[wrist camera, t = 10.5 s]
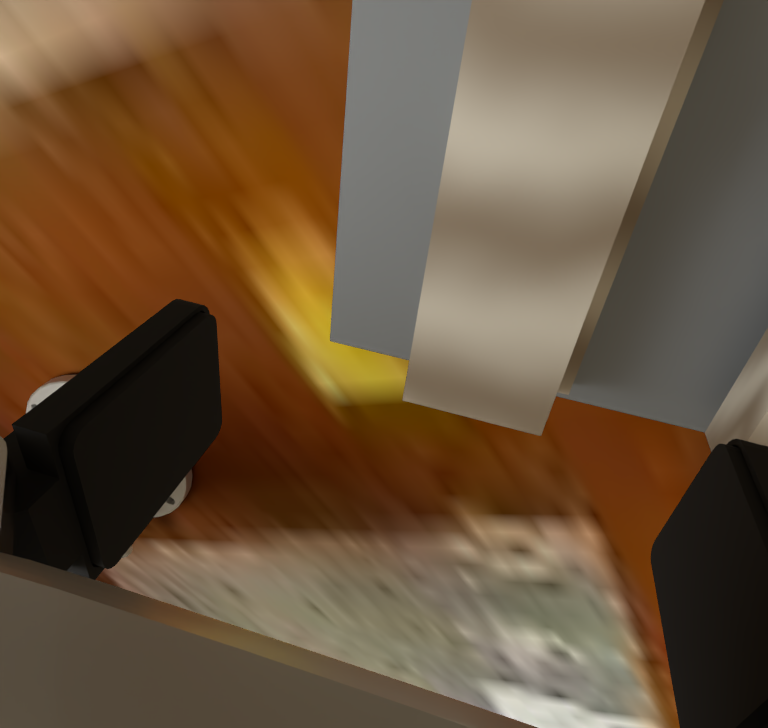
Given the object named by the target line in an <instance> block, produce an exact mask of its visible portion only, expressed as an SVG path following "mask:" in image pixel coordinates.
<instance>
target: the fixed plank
mask: <svg viewBox="0 0 768 728" xmlns="http://www.w3.org/2000/svg"><path fill="white" fill-rule="evenodd" d="M705 435H706V438H707V441H708V444H709V447H710V450H711V452H712V451H713V449H714V448H715V447H716V446H717V445H718V444H727V443H728V442H729V441H731V440H732V439H740V440H744V441H748V442H752V443H756V444H760V445H764V446H768V328H767V330H766V331H765V333H764V335H763V336H762V338H761V340H760V341H759V343H758V345H757V346H756V348H755V350H754V351H753V353H752V355H751V356H750V358H749V360H748V361H747V363H746V365H745V366H744V368H743V370H742V371H741V373H740V375H739V376H738V378H737V380H736V381H735V383H734V385H733V386H732V388H731V390H730V391H729V393H728V395H727V396H726V398H725V400H724V401H723V403H722V405H721V406H720V408H719V410H718V411H717V413H716V415H715V416H714V418H713V420H712V422H711V423H710V425H709V427H708V428H707V430H706V432H705Z"/></svg>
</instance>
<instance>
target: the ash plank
mask: <svg viewBox="0 0 768 728" xmlns="http://www.w3.org/2000/svg"><path fill="white" fill-rule="evenodd" d="M723 1H724V0H472V3H471V9H470V14H469V20H468V26H467V32H466V37H465V43H464V49H463V55H462V60H461V66H460V72H459V78H458V83H457V89H456V95H455V101H454V106H453V112H452V118H451V124H450V129H449V135H448V141H447V147H446V152H445V158H444V164H443V170H442V176H441V181H440V187H439V193H438V199H437V204H436V210H435V216H434V222H433V227H432V233H431V239H430V245H429V250H428V256H427V262H426V268H425V273H424V279H423V285H422V291H421V296H420V302H419V308H418V314H417V319H416V325H415V331H414V337H413V342H412V348H411V354H410V360H409V365H408V371H407V377H406V383H405V388H404V394H403V401H407V402H411V403H415V404H419V405H423V406H426V407H430V408H434V409H438V410H442V411H446V412H450V413H453V414H457V415H461V416H465V417H469V418H473V419H477V420H480V421H484V422H488V423H492V424H496V425H500V426H504V427H508V428H511V429H515V430H519V431H523V432H527V433H531V434H535V435H538V436H541V434H542V432H543V429H544V426H545V424H546V421H547V418H548V416H549V413H550V410H551V408H552V405H553V402H554V400H555V397H556V395H557V392H558V393H562V394H566V395H569V393H570V390H571V388H572V385H573V382H574V380H575V377H576V375H577V372H578V370H579V367H580V365H581V362H582V360H583V357H584V354H585V352H586V349H587V347H588V344H589V342H590V339H591V337H592V334H593V332H594V329H595V326H596V324H597V321H598V319H599V316H600V314H601V311H602V309H603V306H604V304H605V301H606V299H607V296H608V293H609V291H610V288H611V286H612V283H613V281H614V278H615V276H616V273H617V271H618V268H619V265H620V263H621V260H622V258H623V255H624V253H625V250H626V248H627V245H628V243H629V240H630V238H631V235H632V232H633V230H634V227H635V225H636V222H637V220H638V217H639V215H640V212H641V210H642V207H643V204H644V202H645V199H646V197H647V194H648V192H649V189H650V187H651V184H652V182H653V179H654V177H655V174H656V171H657V169H658V166H659V164H660V161H661V159H662V156H663V154H664V151H665V149H666V146H667V143H668V141H669V138H670V136H671V133H672V131H673V128H674V126H675V123H676V121H677V118H678V116H679V113H680V110H681V108H682V105H683V103H684V100H685V98H686V95H687V93H688V90H689V88H690V85H691V82H692V80H693V77H694V75H695V72H696V70H697V67H698V65H699V62H700V60H701V57H702V54H703V52H704V49H705V47H706V44H707V42H708V39H709V37H710V34H711V32H712V29H713V27H714V24H715V21H716V19H717V16H718V14H719V11H720V9H721V6H722V4H723Z"/></svg>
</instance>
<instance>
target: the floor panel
mask: <svg viewBox="0 0 768 728" xmlns="http://www.w3.org/2000/svg"><path fill="white" fill-rule="evenodd" d="M471 3H472V0H353V4H352V19H351V34H350V49H349V64H348V79H347V94H346V109H345V124H344V138H343V153H342V168H341V183H340V198H339V213H338V228H337V243H336V258H335V273H334V288H333V303H332V318H331V333H330V341H332V342H336V343H340V344H344V345H348V346H353V347H357V348H361V349H365V350H369V351H373V352H377V353H381V354H385V355H389V356H394V357H398V358H402V359H406V360H410V354H411V348H412V342H413V337H414V331H415V325H416V319H417V314H418V308H419V302H420V296H421V291H422V285H423V279H424V273H425V268H426V262H427V256H428V250H429V245H430V239H431V233H432V227H433V222H434V216H435V210H436V204H437V199H438V193H439V187H440V181H441V176H442V170H443V164H444V158H445V152H446V147H447V141H448V135H449V129H450V124H451V118H452V112H453V106H454V101H455V95H456V89H457V83H458V78H459V72H460V66H461V60H462V55H463V49H464V43H465V37H466V32H467V26H468V20H469V14H470V9H471ZM767 328H768V0H724V1H723V4H722V6H721V9H720V11H719V14H718V16H717V19H716V21H715V24H714V27H713V29H712V32H711V34H710V37H709V39H708V42H707V44H706V47H705V49H704V52H703V54H702V57H701V60H700V62H699V65H698V67H697V70H696V72H695V75H694V77H693V80H692V82H691V85H690V88H689V90H688V93H687V95H686V98H685V100H684V103H683V105H682V108H681V110H680V113H679V116H678V118H677V121H676V123H675V126H674V128H673V131H672V133H671V136H670V138H669V141H668V143H667V146H666V149H665V151H664V154H663V156H662V159H661V161H660V164H659V166H658V169H657V171H656V174H655V177H654V179H653V182H652V184H651V187H650V189H649V192H648V194H647V197H646V199H645V202H644V204H643V207H642V210H641V212H640V215H639V217H638V220H637V222H636V225H635V227H634V230H633V232H632V235H631V238H630V240H629V243H628V245H627V248H626V250H625V253H624V255H623V258H622V260H621V263H620V265H619V268H618V271H617V273H616V276H615V278H614V281H613V283H612V286H611V288H610V291H609V293H608V296H607V299H606V301H605V304H604V306H603V309H602V311H601V314H600V316H599V319H598V321H597V324H596V326H595V329H594V332H593V334H592V337H591V339H590V342H589V344H588V347H587V349H586V352H585V354H584V357H583V360H582V362H581V365H580V367H579V370H578V372H577V375H576V377H575V380H574V382H573V385H572V388H571V390H570V393H569V395H566V394H562V393H558V392H557V395H556V396H558V397H562V398H566V399H570V400H574V401H578V402H582V403H586V404H590V405H594V406H599V407H603V408H607V409H611V410H615V411H619V412H623V413H627V414H631V415H635V416H640V417H644V418H648V419H652V420H656V421H660V422H664V423H668V424H672V425H676V426H680V427H685V428H689V429H693V430H697V431H701V432H706V430H707V428H708V427H709V425H710V423H711V422H712V420H713V418H714V416H715V415H716V413H717V411H718V410H719V408H720V406H721V405H722V403H723V401H724V400H725V398H726V396H727V395H728V393H729V391H730V390H731V388H732V386H733V385H734V383H735V381H736V380H737V378H738V376H739V375H740V373H741V371H742V370H743V368H744V366H745V365H746V363H747V361H748V360H749V358H750V356H751V355H752V353H753V351H754V350H755V348H756V346H757V345H758V343H759V341H760V340H761V338H762V336H763V335H764V333H765V331H766V330H767Z"/></svg>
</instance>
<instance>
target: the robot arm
mask: <svg viewBox="0 0 768 728" xmlns="http://www.w3.org/2000/svg"><path fill="white" fill-rule="evenodd" d="M221 424H222V411H221V394H220V376H219V359H218V341H217V323H216V319H215V317H214V316H213V315H210V314H209V310H208V308H207V307H206V306H204V305H200V304H196V303H192V302H188V301H184V300H180V299H176V300H174V301H172V302H170V303H169V304H168V305H167V306H165V307H164V308H163V309H161V310H160V311H159V312H157V313H156V314H155V315H154V316H152V317H151V318H150V319H148V320H147V321H146V322H144V323H143V324H142V325H141V326H139V327H138V328H137V329H135V330H134V331H133V332H131V333H130V334H129V335H128V336H126V337H125V338H124V339H122V340H121V341H120V342H118V343H117V344H116V345H115V346H113V347H112V348H111V349H109V350H108V351H107V352H105V353H104V354H103V355H102V356H100V357H99V358H98V359H96V360H95V361H94V362H92V363H91V364H90V365H89V366H87V367H86V368H85V369H83V370H82V371H81V372H79V373H78V374H77V375H63V376H60V377H56V378H53V379H51V380H50V381H48V382H47V383H45V384H44V385H42V386H41V387H39V388H38V389H37V390H36V391H35V392H34V393H33V394H32V395H31V397H30V399H29V401H28V403H27V410H26V414H25V415H23V416H22V417H21V418H20V419H18V420H17V421H16V422H14V423H13V424H12V426H13V429H14V431H13V432H12V433H10V434H9V435H8V436H7V437H5V438H4V439H2V438H1V437H0V728H537V727H534V726H531V725H529V724H526V723H523V722H520V721H517V720H514V719H511V718H508V717H505V716H502V715H499V714H496V713H493V712H490V711H488V710H485V709H482V708H479V707H476V706H473V705H470V704H467V703H464V702H461V701H458V700H455V699H452V698H449V697H446V696H443V695H440V694H437V693H434V692H431V691H428V690H425V689H422V688H420V687H417V686H414V685H411V684H408V683H405V682H402V681H399V680H396V679H393V678H390V677H387V676H384V675H381V674H378V673H375V672H372V671H369V670H366V669H363V668H360V667H357V666H354V665H351V664H348V663H345V662H342V661H339V660H336V659H333V658H330V657H327V656H324V655H321V654H318V653H315V652H312V651H309V650H306V649H303V648H300V647H297V646H294V645H291V644H288V643H285V642H282V641H279V640H276V639H273V638H271V637H268V636H264V635H261V634H258V633H255V632H252V631H249V630H246V629H243V628H240V627H237V626H234V625H231V624H228V623H225V622H222V621H219V620H216V619H213V618H210V617H207V616H204V615H201V614H198V613H195V612H192V611H189V610H186V609H183V608H180V607H177V606H174V605H171V604H168V603H164V602H161V601H158V600H155V599H152V598H149V597H146V596H143V595H140V594H137V593H134V592H131V591H128V590H125V589H122V588H119V587H116V586H112V585H109V584H106V583H103V582H100V581H96V580H95V579H96V578H97V577H98V576H99V574H100V573H101V572H102V571H103V569H104V568H106V569H110V568H112V567H113V566H115V565H116V564H117V563H118V562H119V560H120V559H121V558H124V557H127V556H128V555H129V554H131V552H132V550H133V548H132V544H133V543H134V541H135V540H136V539H137V538H138V536H139V535H140V534H141V532H142V531H143V530H144V529H145V527H146V526H147V525H148V524H149V522H150V521H151V520H152V518H153V517H161V516H163V515H166V514H169V513H171V512H172V511H174V510H175V509H176V508H178V507H179V505H180V504H181V503H182V501H183V500H184V499H185V498H186V496H187V495H188V492H189V490H190V488H191V484H192V477H193V476H192V468H193V466H194V465H195V464H196V462H197V461H198V460H199V459H200V457H201V456H202V455H203V454H204V452H205V451H206V450H207V448H208V447H209V446H210V445H211V443H212V442H213V441H214V440H215V438H216V437H217V435H218V433H219V431H220V428H221ZM651 564H652V570H653V576H654V582H655V587H656V593H657V599H658V604H659V610H660V616H661V622H662V627H663V633H664V639H665V644H666V650H667V656H668V661H669V667H670V673H671V679H672V684H673V690H674V696H675V701H676V707H677V713H678V718H679V724H680V728H768V446H764V445H760V444H756V443H752V442H748V441H744V440H740V439H732V440H731V441H729V442H728V443H727V444H718V445H717V446H716V447H715V448H714V449H713V451H712V452H711V454H710V455H709V457H708V458H707V460H706V461H705V463H704V465H703V466H702V468H701V469H700V471H699V472H698V474H697V476H696V477H695V479H694V480H693V482H692V483H691V485H690V486H689V488H688V490H687V491H686V493H685V494H684V496H683V497H682V499H681V501H680V502H679V504H678V505H677V507H676V508H675V510H674V512H673V513H672V515H671V516H670V518H669V519H668V521H667V522H666V524H665V526H664V527H663V529H662V530H661V532H660V533H659V535H658V537H657V538H656V540H655V542H654V544H653V547H652V551H651Z"/></svg>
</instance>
